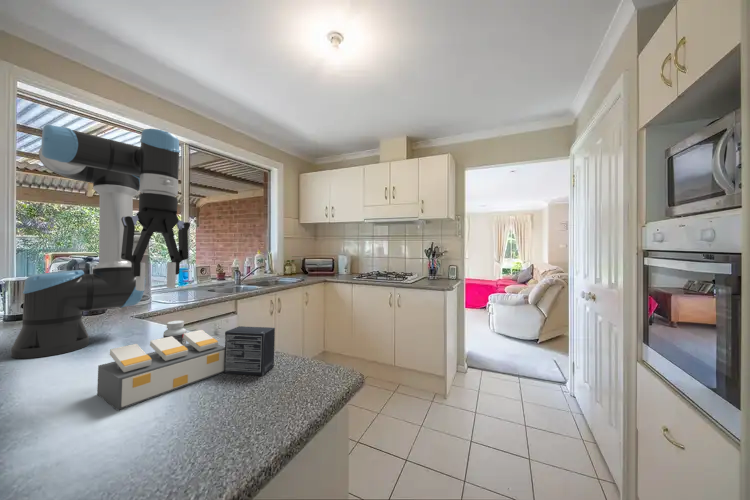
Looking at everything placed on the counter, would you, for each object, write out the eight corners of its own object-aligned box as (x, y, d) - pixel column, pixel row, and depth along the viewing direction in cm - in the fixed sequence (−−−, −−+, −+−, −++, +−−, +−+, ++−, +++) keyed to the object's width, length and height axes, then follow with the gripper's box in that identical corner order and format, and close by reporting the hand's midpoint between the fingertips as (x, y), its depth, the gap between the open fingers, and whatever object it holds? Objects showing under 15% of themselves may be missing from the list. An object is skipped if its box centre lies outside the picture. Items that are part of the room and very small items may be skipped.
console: (97, 394, 58) (98, 361, 58) (202, 362, 76) (203, 337, 76) (118, 411, 52) (119, 374, 52) (226, 371, 70) (227, 344, 70)
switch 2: (149, 345, 64) (150, 340, 64) (171, 340, 68) (172, 335, 68) (165, 361, 60) (166, 355, 60) (187, 354, 64) (188, 349, 64)
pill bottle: (187, 356, 80) (188, 322, 80) (164, 361, 76) (165, 325, 76) (183, 351, 84) (184, 319, 84) (161, 355, 80) (162, 321, 80)
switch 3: (183, 338, 70) (183, 333, 70) (201, 333, 74) (202, 329, 74) (199, 351, 66) (200, 346, 66) (217, 346, 70) (218, 341, 70)
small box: (275, 366, 74) (276, 326, 75) (263, 376, 68) (264, 333, 68) (238, 363, 76) (239, 324, 76) (222, 373, 69) (223, 331, 69)
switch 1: (109, 354, 58) (110, 348, 58) (135, 348, 62) (136, 343, 62) (124, 372, 54) (124, 366, 54) (151, 364, 58) (151, 359, 58)
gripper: (115, 184, 59) (111, 294, 58) (206, 200, 75) (203, 286, 74) (102, 188, 63) (98, 291, 62) (191, 202, 79) (189, 284, 78)
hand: (156, 288), depth 68 cm, fingers open, 6 cm apart
